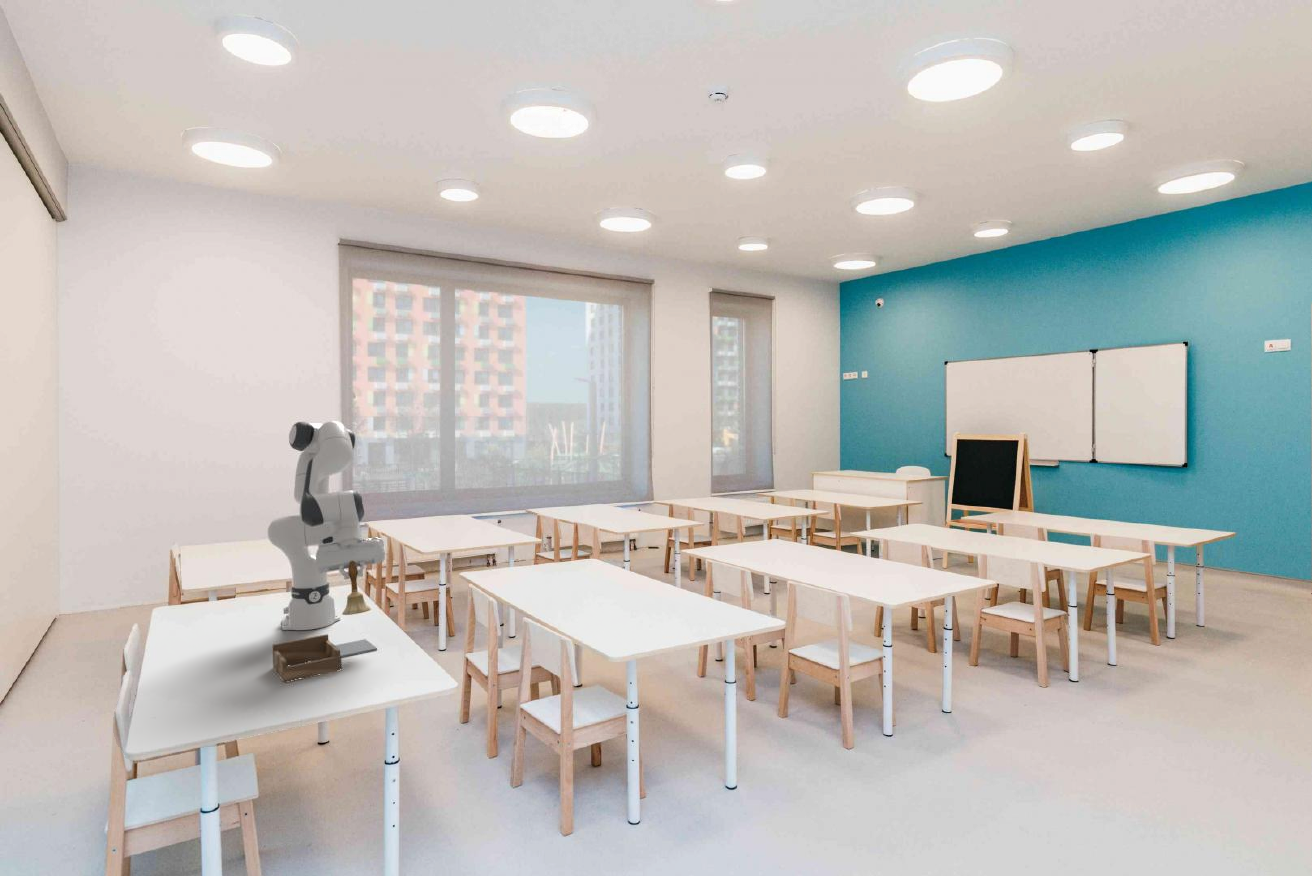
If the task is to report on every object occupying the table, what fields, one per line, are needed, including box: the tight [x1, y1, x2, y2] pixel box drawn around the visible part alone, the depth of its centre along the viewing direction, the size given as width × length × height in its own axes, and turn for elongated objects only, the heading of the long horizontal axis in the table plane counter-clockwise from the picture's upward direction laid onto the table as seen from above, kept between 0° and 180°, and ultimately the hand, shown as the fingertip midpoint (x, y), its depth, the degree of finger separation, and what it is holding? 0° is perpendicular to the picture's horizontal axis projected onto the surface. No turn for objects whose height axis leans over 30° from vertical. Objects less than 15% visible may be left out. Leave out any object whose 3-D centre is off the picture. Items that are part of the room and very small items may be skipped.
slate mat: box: [334, 638, 378, 658], centre depth 224 cm, size 12×12×1 cm
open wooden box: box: [272, 633, 342, 683], centre depth 207 cm, size 15×15×7 cm
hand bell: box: [341, 561, 372, 616], centre depth 222 cm, size 8×8×16 cm
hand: (353, 577), depth 222 cm, fingers closed on hand bell, 2 cm apart
